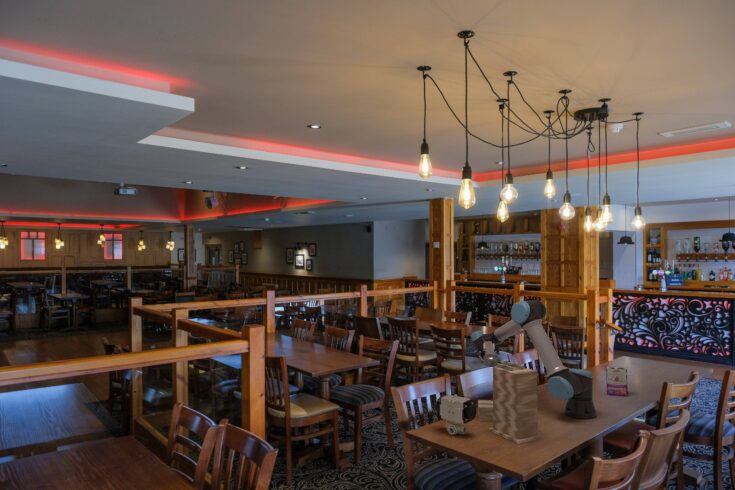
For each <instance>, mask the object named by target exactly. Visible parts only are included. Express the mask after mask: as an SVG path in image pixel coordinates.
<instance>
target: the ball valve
mask: <svg viewBox="0 0 735 490" xmlns="http://www.w3.org/2000/svg"><path fill="white" fill-rule="evenodd" d="M473 401H474V400H473V399H472V398H468V397H462V396H458V394H455V393H454V395H452V394H444V395H442V396H440V397H439V398H437V400H436V402H435V410H436V412H437V414H438V417H439V418H440V419H443V420H447V422H446V423H445V429H446V430H445V431H447V433H448V434H449V435H451V436H455V435H457V434H458V435H461V436H462V435H465V434H466V433H467V426H466V425H465V424H468V423H470V422H471V421H473V420H475V418H476V416H477V414H478V408H477V406H476V405H475V404H474V402H473Z"/></svg>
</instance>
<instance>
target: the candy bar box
mask: <svg viewBox="0 0 735 490" xmlns="http://www.w3.org/2000/svg"><path fill="white" fill-rule="evenodd" d="M605 379H606V380H605V381H606V386H605V387H606V395H608V396H617V397H628V396H629V395H628V393H629V391H628V388H629V387H628V368H627V367H626V366H617V365H615V366H614V365H606V366H605Z"/></svg>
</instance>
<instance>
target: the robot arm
mask: <svg viewBox="0 0 735 490" xmlns="http://www.w3.org/2000/svg"><path fill="white" fill-rule="evenodd" d="M547 312H548V310H547V307H546V305H545V304H544V302H542V301H540V300H537V299H532V300H520V301H517V302H515V303H513V305H512V307H511V310H510V316H511V319H510V320H509V321H507V322H506V323H505V324H502V325H501V326H499V327H498V328H496V329H495V330H493V331H492V332H489V333H483V331H482V330H475V331H473V332H472V333H471V334H470V339H471V342H472V344H473V346H474V348H475V349H474V353H475V355H477V357H478V361H479V363H480V364H482V365H484V355H485V343H484V341H491V342H492V345H493V350H494V354H495V355H497V356H499V355H500V347H499V345H501V344H502V343H503V342H504V341H505V340H506V339H508V338H509V337H511V336H513V335H516V333H518V332H520V331H522V330H524V331H525V332H526V333H527V334H528V337H529V340H530V341H531V343H532V345H533V346H534V349H535V351H536V353H537V354H538V356H539V358H540V361H541V362H542V364H543V366H544V367H545V370H546V371H547V373H546V374H547V375H546V379H547V384H546V385H547V390H548V392H549V394H550V395H551V396H552V397H553V398H555V399H557V400H559V401H566V404H565V407H564V414H565V415H567V416H568V417H572V418H574V419H582V420H583V419H585V420H589V419H590V420H591V419H595V418H597V410H596V407H595V404H594V401H593V373H592V372H591V371H590V370H586V369H581V368H569V367H567V366H565V365H564V364H563V362H562V361H561V358H560V357H559V354H558V353H557V351H556V349H555V347H554V345H553V343H552V342H551V340H550V338H549V336H548V334H547V332H546V330H545V328H544V326H543V325H542V323H543V319H545V317H546V316H547Z"/></svg>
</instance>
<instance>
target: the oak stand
mask: <svg viewBox="0 0 735 490" xmlns="http://www.w3.org/2000/svg"><path fill="white" fill-rule="evenodd" d="M492 401H493V422H492V424H493V425H492V427H488V431H489V432H491V433H493V434H494V435H497V436H499V437H502V438H504V439H506V440H509V441H511V442H513V443H515V444H518V445H519V444H524V443H527V442H532V441H536V440H540V439H544V438H543V434H541V433H539V430H538V429H539V423H538V422H539V421H538V420H539V417H538V414H539V413H538V411H539V409H538V401H539V400H538V371H537V370H536V369H535V370H534V369H531V368H527V367H524V365H522V364H518V363H513V362H512V361H511V362H510V361H506V364H502V363H499V362H498V363H497V364H496V367H492Z"/></svg>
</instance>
